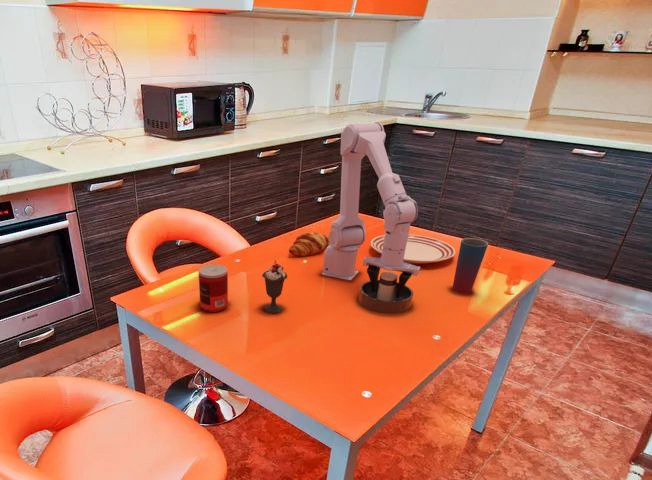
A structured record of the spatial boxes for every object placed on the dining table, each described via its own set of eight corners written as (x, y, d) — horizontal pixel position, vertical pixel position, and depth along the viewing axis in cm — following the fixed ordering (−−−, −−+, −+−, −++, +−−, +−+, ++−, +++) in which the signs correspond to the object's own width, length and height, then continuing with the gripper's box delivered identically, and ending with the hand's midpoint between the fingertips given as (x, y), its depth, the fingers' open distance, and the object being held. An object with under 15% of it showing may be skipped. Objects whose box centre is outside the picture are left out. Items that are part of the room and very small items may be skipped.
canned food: (231, 301, 136) (231, 265, 130) (222, 314, 129) (221, 277, 124) (206, 298, 138) (205, 262, 132) (196, 310, 132) (194, 273, 126)
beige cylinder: (373, 302, 133) (378, 276, 129) (378, 296, 136) (383, 270, 132) (390, 306, 131) (395, 279, 127) (394, 300, 134) (399, 274, 130)
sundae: (269, 316, 128) (271, 264, 120) (256, 306, 133) (258, 255, 125) (290, 311, 130) (293, 259, 123) (276, 301, 136) (279, 251, 128)
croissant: (321, 250, 178) (315, 229, 177) (342, 243, 170) (336, 222, 169) (283, 264, 166) (276, 242, 165) (304, 258, 158) (297, 235, 157)
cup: (476, 297, 136) (491, 247, 128) (451, 295, 137) (464, 245, 129) (471, 287, 142) (484, 238, 134) (446, 285, 143) (458, 237, 135)
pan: (351, 307, 132) (353, 294, 130) (367, 288, 142) (369, 276, 140) (402, 319, 125) (405, 306, 123) (415, 299, 136) (418, 286, 133)
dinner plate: (385, 235, 181) (386, 227, 179) (462, 250, 167) (464, 241, 165) (357, 258, 162) (358, 249, 160) (440, 277, 148) (443, 267, 146)
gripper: (362, 246, 126) (355, 293, 133) (419, 257, 119) (408, 305, 126) (370, 238, 131) (363, 284, 138) (425, 248, 124) (415, 295, 131)
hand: (385, 293), depth 132 cm, fingers open, 6 cm apart
